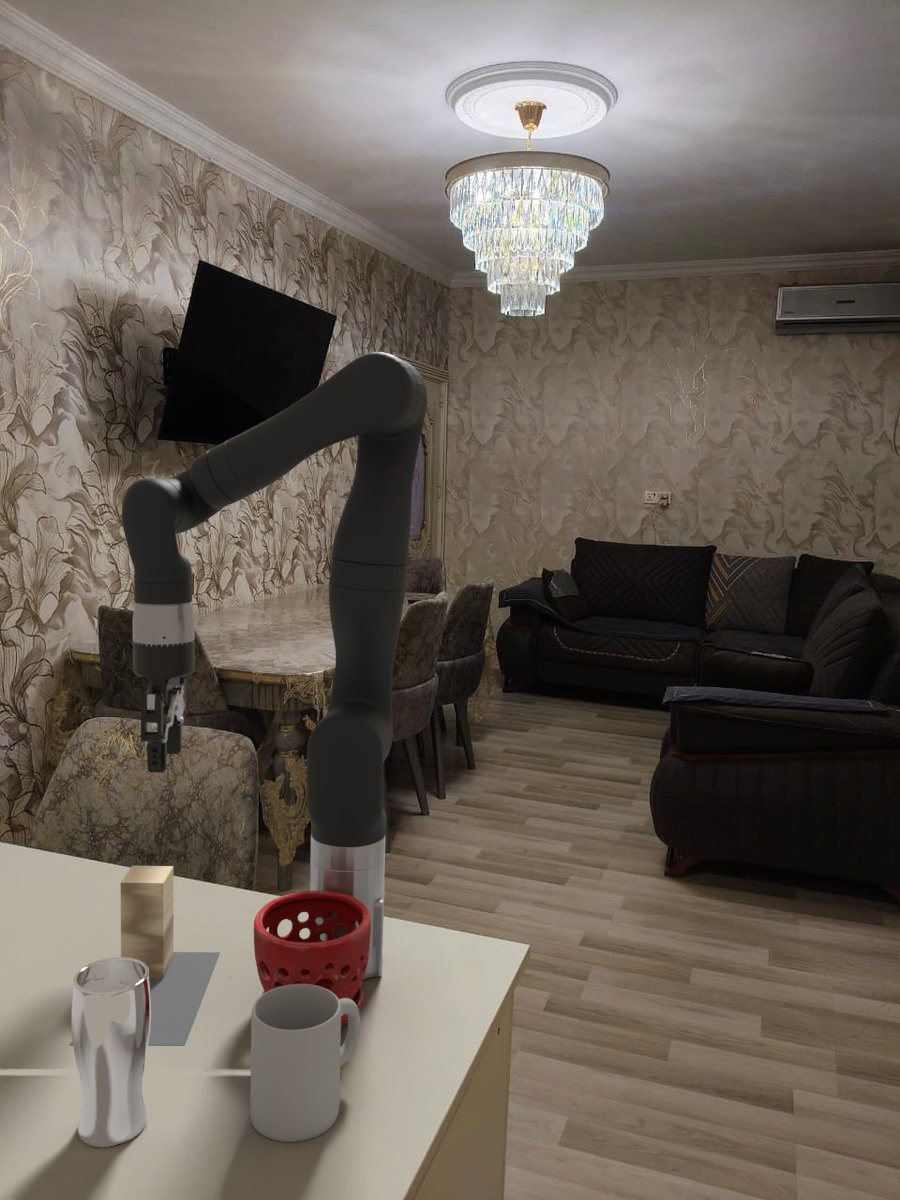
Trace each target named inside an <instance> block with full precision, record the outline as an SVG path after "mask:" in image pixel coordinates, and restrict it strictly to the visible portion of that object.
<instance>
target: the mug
mask: <svg viewBox="0 0 900 1200" xmlns="http://www.w3.org/2000/svg"><path fill="white" fill-rule="evenodd" d="M262 994H263V993H262ZM262 994H260V996H259V997H258V998H257V999H256V1000H255V1001H254V1003H253V1006H252V1008H251V1022H250V1023H251V1031H250V1033H251V1034H250V1035H251V1037H250V1038H251V1041H250V1042H251V1044H250V1049H251V1051H250V1093H249V1094H250V1096H249V1097H250V1098H249V1099H250V1100H249V1116H250V1121H251V1124H252V1126H253V1127H254V1129H255V1130H256V1131H257V1133H259V1134H260V1135H262V1136H263V1137H265V1138H267V1139H270V1140H273V1141H276V1142H282V1143H297V1142H303V1141H308V1140H312V1139H314V1138H316V1137H319V1136H321V1135H322V1134H324V1133H325V1132H327V1131H329V1129H330V1128H331V1127H332V1126H333V1125H334V1123H335V1122H336V1120H337V1118H338V1116H339V1112H340V1102H341V1101H340V1099H341V1097H340V1095H341V1093H340V1089H341V1087H340V1079H341V1078H340V1077H341V1076H340V1075H341V1069H340V1068H341V1067H342V1066H344V1065H345V1064H346V1063H347V1062H349V1061H350V1060H351V1059H352V1057H353V1056H354V1055H355V1053H356V1051H357V1047H358V1044H359V1039H360V1034H361V1033H360V1030H361V1017H360V1009H359V1010H358V1008H357V1005H356V1003H355V1002H354V1001H353V1000H351V999H348V998H342V999H338V997H337V996H336V995H335V994H334V993H333V992H331V991H330V990H328V989H326V988H323V987H320V986H316V985H310V984H291V985H285V986H280V987H277V988H274V989H272V990H269V991H267V992H266V993H264V994H263V995H262ZM344 1014H347V1016H348V1022H347V1030H346V1031H347V1032H346V1036H345V1039H344V1042H343V1044H342V1045H341V1039H342V1037H341V1035H342V1034H341V1030H342V1028H341V1027H342V1026H341V1016H343V1015H344Z"/></svg>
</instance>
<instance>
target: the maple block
mask: <svg viewBox="0 0 900 1200" xmlns="http://www.w3.org/2000/svg"><path fill="white" fill-rule="evenodd" d="M173 952H174V866H173V865H170V866H169V865H131V867H130V868H129V870H128V871H127V872H126V874H125V876H124V877H123V878H122V880H121V881H120V957H127V958H134V959H137V960H140V961H142V962H144V963H145V964H146V965H147V966H148V968H149V979H164V977H165V975H166V973H167V970H168V968H169V966H170V964H171V962H172V960H173Z"/></svg>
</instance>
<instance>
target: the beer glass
mask: <svg viewBox="0 0 900 1200" xmlns="http://www.w3.org/2000/svg"><path fill="white" fill-rule="evenodd" d="M72 982H73V984H72V985H73V988H72V989H73V990H72V1001H71V1012H70V1013H71V1014H70V1015H71V1017H70V1022H71V1023H70V1025H71V1041H73V1045H72V1047H73V1053H74V1058H75V1063H76V1068H77V1072H78V1076H79V1081H80V1082H79V1083H80V1086H81V1108H80V1113H79V1119H78V1125H77V1133H78V1137H79V1139H80V1140H81V1141H82V1142H83V1143H85V1144H86V1145H87V1146H91V1147H95V1148H111V1147H110V1146H112V1147H115V1146H114V1145H117V1144H120V1145H122V1144H121V1143H123V1144H125V1143H128V1142H130V1141H131V1140H133V1139H135V1138H136V1137H137V1136H138V1135H139V1134H140V1133H141V1132H142V1131H143V1130H144V1128H145V1127H146V1123H147V1119H148V1117H147V1109H146V1108H147V1107H146V1104H145V1100H144V1094H143V1078H144V1071H145V1065H146V1059H147V1055H148V1051H149V1050H148V1049H149V1045H148V1044H149V1038H150V1030H151V992H150V982H149V968H148V966H147V965H146V964H145V963H144V962H142V961H140V960H137V959H134V958H127V957H121V956H118V957H108V958H103V959H100V960H99V959H98V960H96V961H93V962H90V963H88V964H86V965H84V966H83V967H82V968H80V969H78V971H77V972H76V974H75V975H74V977H73V981H72ZM129 1140H130V1141H129ZM127 1141H128V1142H127ZM124 1142H125V1143H124ZM117 1146H118V1145H117Z"/></svg>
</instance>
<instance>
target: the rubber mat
mask: <svg viewBox="0 0 900 1200" xmlns="http://www.w3.org/2000/svg"><path fill="white" fill-rule="evenodd" d="M220 954H221V951H220V952H219V951H216V952H215V951H214V952H213V951H211V952H209V951H207V952H205V951H202V952H201V951H173V960H172V962H171V964H170V966H169V968H168V970H167V973H166V975H165V977H164V979H149V982H150V992H151V1030H150V1038H149V1044H148V1046H186V1043H187V1041H188V1038H189V1035H190V1033H191V1030H192V1028H193V1025H194V1023H195V1020H196V1017H197V1015H198V1011H199V1009H200V1007H201V1005H202V1002H203V998H204V997H205V994H206V991H207V988H208V985H209V983H210V981H211V978H212V975H213V973H214V970H215V966H216V965H217V962H218V959H219V957H220ZM69 1046H73V1041H72V1040H71V1041H70V1044H69Z"/></svg>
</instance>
